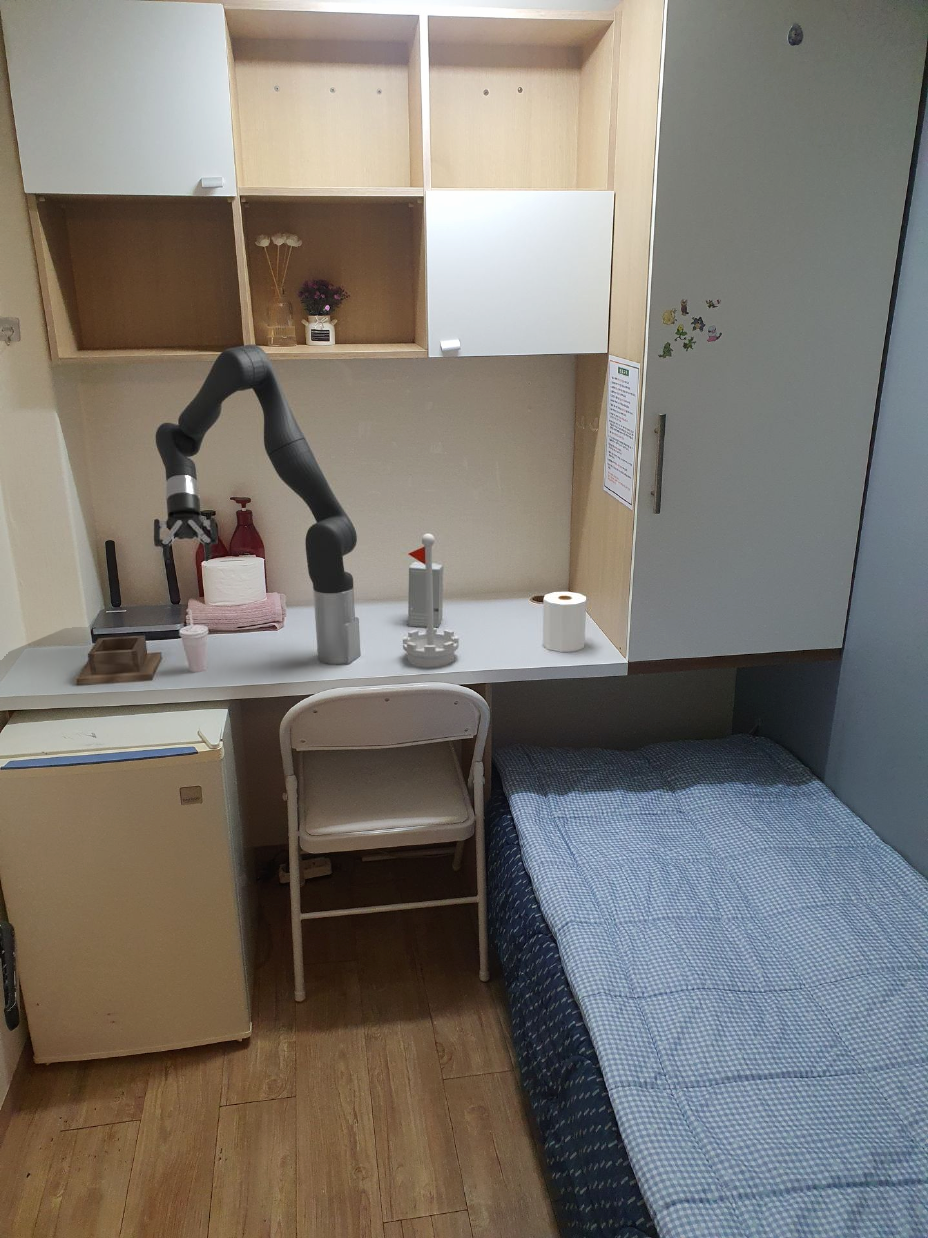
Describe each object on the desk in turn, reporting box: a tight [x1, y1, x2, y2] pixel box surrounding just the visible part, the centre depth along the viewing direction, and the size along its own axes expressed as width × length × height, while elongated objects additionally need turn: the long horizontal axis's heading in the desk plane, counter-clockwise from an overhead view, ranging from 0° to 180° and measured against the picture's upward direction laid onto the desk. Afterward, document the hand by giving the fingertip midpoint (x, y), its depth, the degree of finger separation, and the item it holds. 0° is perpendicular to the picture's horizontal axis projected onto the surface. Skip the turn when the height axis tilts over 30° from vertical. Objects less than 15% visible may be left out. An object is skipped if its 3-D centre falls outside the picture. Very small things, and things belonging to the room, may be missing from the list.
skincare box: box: [407, 561, 444, 628], centre depth 234 cm, size 8×7×16 cm
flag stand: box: [402, 533, 460, 668], centre depth 208 cm, size 13×13×30 cm
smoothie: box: [178, 610, 209, 673], centre depth 206 cm, size 6×6×14 cm
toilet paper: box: [542, 591, 587, 653], centre depth 218 cm, size 10×10×12 cm
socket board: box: [75, 635, 163, 686], centre depth 206 cm, size 16×14×6 cm
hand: (187, 560), depth 209 cm, fingers open, 8 cm apart
